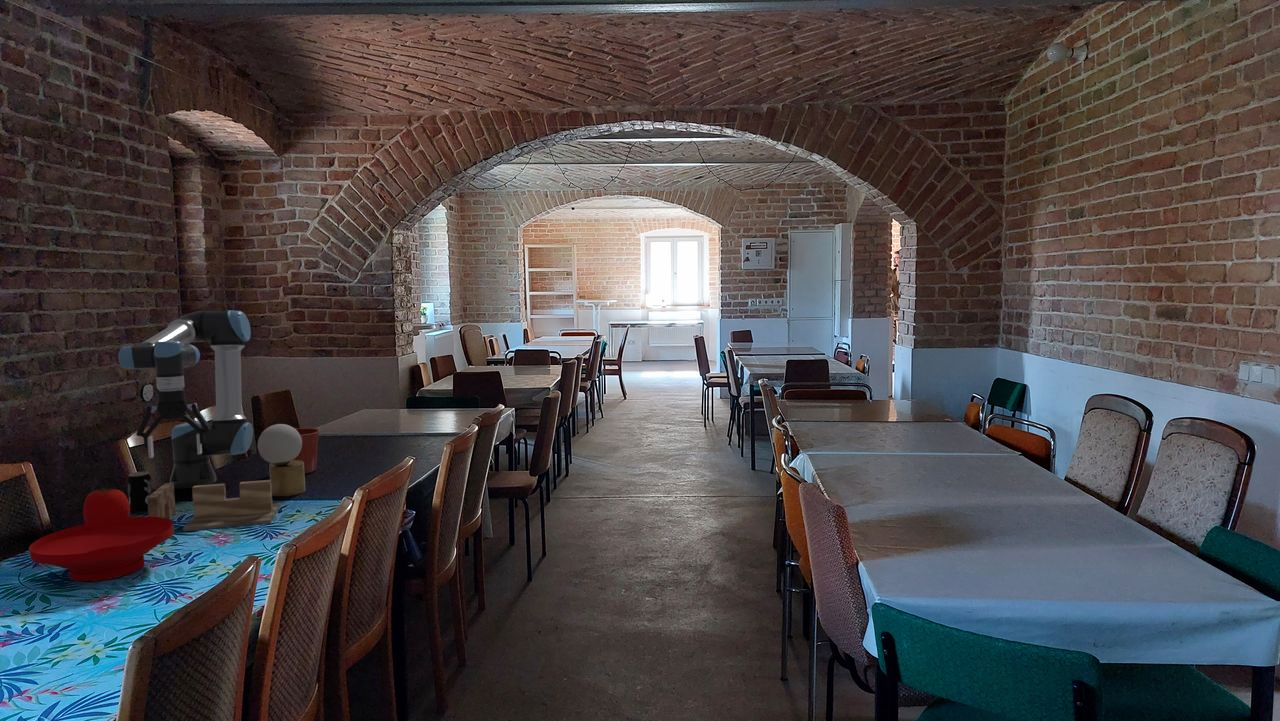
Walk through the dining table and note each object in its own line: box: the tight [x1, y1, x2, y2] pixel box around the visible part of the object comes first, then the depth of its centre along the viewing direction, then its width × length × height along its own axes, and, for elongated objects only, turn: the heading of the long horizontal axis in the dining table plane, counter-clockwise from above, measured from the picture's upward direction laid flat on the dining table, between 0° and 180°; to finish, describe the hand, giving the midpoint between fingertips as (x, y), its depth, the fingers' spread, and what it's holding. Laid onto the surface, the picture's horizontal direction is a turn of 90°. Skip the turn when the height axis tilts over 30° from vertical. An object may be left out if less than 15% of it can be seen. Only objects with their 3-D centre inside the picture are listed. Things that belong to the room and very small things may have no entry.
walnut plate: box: [147, 482, 176, 520], centre depth 242 cm, size 18×2×10 cm, turn 17°
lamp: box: [257, 423, 306, 498], centre depth 271 cm, size 15×14×25 cm
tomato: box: [82, 487, 131, 524], centre depth 230 cm, size 13×11×14 cm
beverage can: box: [126, 471, 153, 512], centre depth 256 cm, size 7×7×12 cm
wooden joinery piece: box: [182, 479, 281, 532], centre depth 244 cm, size 20×24×11 cm
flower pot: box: [293, 427, 321, 475], centre depth 305 cm, size 16×16×16 cm
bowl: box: [28, 516, 175, 582], centre depth 199 cm, size 30×30×10 cm
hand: (175, 455), depth 246 cm, fingers open, 13 cm apart
